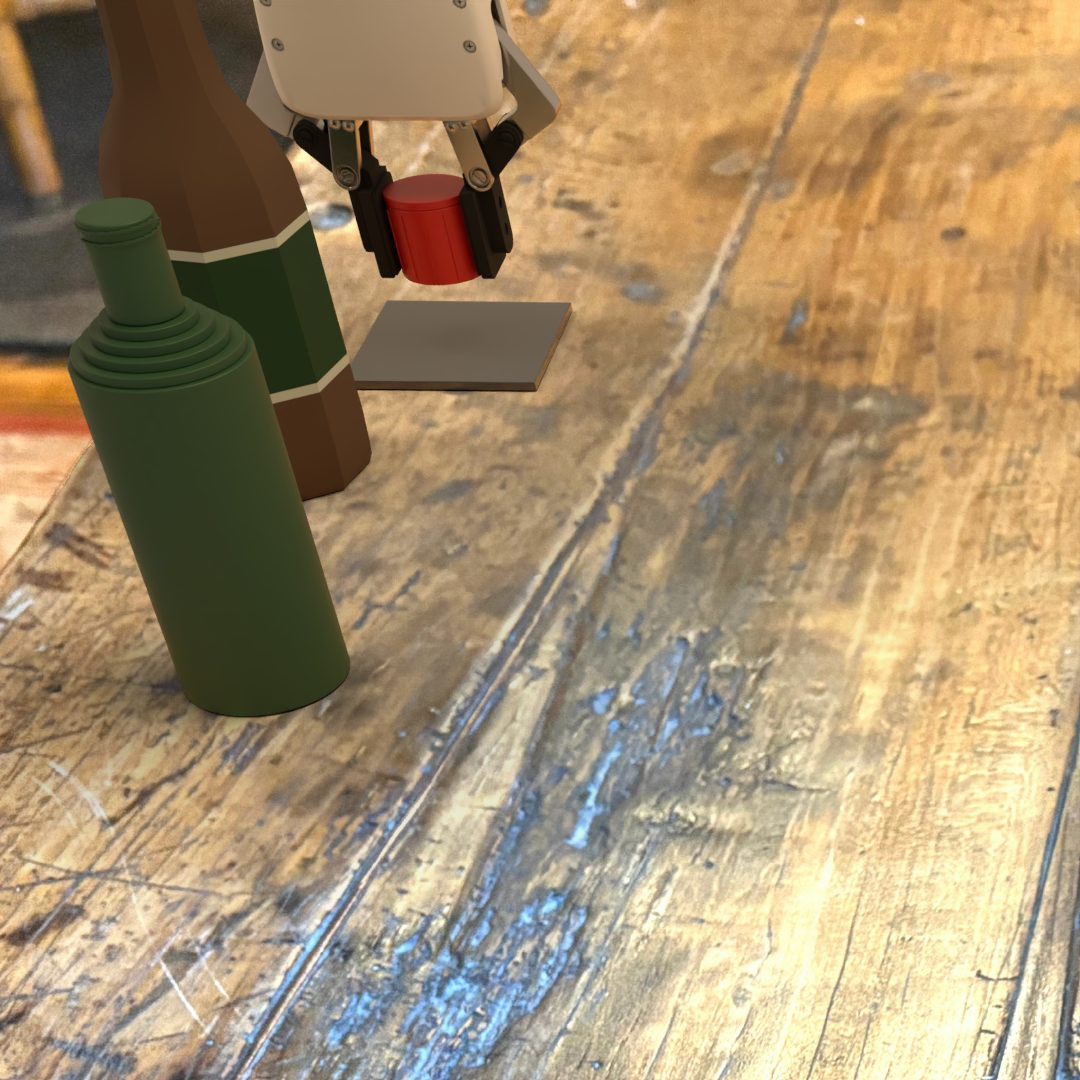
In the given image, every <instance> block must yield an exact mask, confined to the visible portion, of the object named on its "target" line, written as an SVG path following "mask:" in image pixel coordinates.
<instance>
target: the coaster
mask: <svg viewBox="0 0 1080 1080" xmlns="http://www.w3.org/2000/svg"><path fill="white" fill-rule="evenodd" d="M572 312H573V305H572V303H571V302H564V301H563V302H562V301H561V302H560V301H559V302H558V301H483V300H482V301H479V300H477V301H476V300H474V301H471V300H398V299H397V300H394V299H393V300H392V299H391V300H389V299H387V300H386V301H385V302H384V304H383V306H382V308H381V309H380V311H379V312H378V314H377V316H376V318H375V320H374V322H373V324H372V325H371V327H370V328H369V330H368V332H367V334H366V335H365V337H364V339H363V340H362V343H361V344H360V345H359V348H358V349H357V351H356V353H355V355H354V357H353V358H352V360H351V361H350V365H351V369H352V373H353V376H354V380H355V384H356V387H357V390H428V391H429V390H431V391H432V390H436V391H442V390H445V391H456V390H457V391H458V390H459V391H527V392H528V391H531V392H533V391H534V392H535V391H538V388H539V385H540V383H541V381H542V379H543V376H544V375H545V372H546V370H547V367H548V365H549V363H550V361H551V358H552V356H553V354H554V352H555V350H556V347H557V345H558V343H559V341H560V339H561V336H562V334H563V332H564V330H565V327H566V325H567V324H568V321H569V318H570V317H571V314H572Z"/></svg>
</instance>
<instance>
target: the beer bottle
mask: <svg viewBox="0 0 1080 1080" xmlns="http://www.w3.org/2000/svg"><path fill="white" fill-rule="evenodd" d="M94 2H95V6H96V11H97V14H98V19H99V22H100V25H101V30H102V33H103V37H104V41H105V45H106V49H107V55H108V61H109V69H110V77H111V83H112V91H113V93H112V96H111V99H110V102H109V105H108V109H107V111H106V115H105V118H104V120H103V124H102V127H101V130H100V132H99V150H98V179H99V185H100V187H101V191H102V195H103V200H104V199H110V198H136V199H141V200H145V201H147V202H149V203H150V204H151V205H152V206H153V207H154V209H155V213H157V215H158V217H159V218H160V219H161V222H162V223H161V231H162V234H163V238H164V241H165V244H166V247H167V250H168V253H169V256H170V260H171V263H172V266H173V269H174V272H175V275H176V278H177V281H178V285H179V288H180V291H181V294H182V296H185V297H188V298H190V299H191V300H193V301H195V302H198V303H200V304H202V305H204V306H206V307H207V308H210V309H213V310H215V311H217V312H219V313H220V314H222V315H225V316H228V317H230V318H232V319H233V320H235V321H236V322H238V323H239V324H240V326H241V327H242V328H243V329H244V330H245V331H246V332H247V333H248V334H249V335H250V336H251V337H252V339H253V341H254V344H255V347H256V351H257V354H258V357H259V361H260V364H261V367H262V371H263V374H264V377H265V380H266V384H267V387H268V390H269V394H270V397H271V400H272V404H273V407H274V410H275V413H276V417H277V420H278V423H279V427H280V430H281V433H282V437H283V440H284V443H285V446H286V450H287V453H288V456H289V460H290V463H291V466H292V470H293V473H294V476H295V479H296V483H297V486H298V489H299V493H300V496H301V499H302V501H305V500H309V499H313V498H316V497H321V496H324V495H327V494H332V493H335V492H339V491H343V490H345V489H346V487H348V485H349V484H350V483H352V481H353V480H354V479H355V478H356V477H357V476H358V474H360V473H361V472H362V470H364V468H365V467H366V466H367V465H368V464H369V463H370V462H371V459H372V458H371V457H372V454H373V450H372V447H371V446H372V445H371V442H370V436H369V431H368V427H367V422H366V417H365V413H364V410H363V406H362V402H361V398H360V394H359V392H358V391H359V390H358V389H357V387H356V384H355V380H354V376H353V373H352V369H351V365H350V364H351V361H350V359H349V355H348V351H347V348H346V344H345V340H344V336H343V334H342V329H341V326H340V322H339V318H338V315H337V311H336V308H335V303H334V300H333V297H332V294H331V289H330V286H329V282H328V278H327V275H326V272H325V268H324V264H323V261H322V257H321V252H320V250H319V246H318V242H317V238H316V234H315V231H314V227H313V223H312V220H311V216H310V213H309V209H308V207H307V204H306V201H305V199H304V196H303V192H302V189H301V187H300V184H299V181H298V178H297V176H296V174H295V170H294V168H293V165H292V162H291V161H290V159H289V158H288V157H287V155H286V153H285V152H284V150H283V148H282V147H281V146H280V144H279V143H278V140H277V139H276V137H275V136H274V135H273V133H272V132H271V130H270V128H269V127H267V126H266V125H265V124H264V123H263V122H262V120H261V119H260V118H259V117H258V116H257V115H256V114H255V113H254V112H253V111H252V110H251V109H250V108H249V107H248V106H247V105H246V102H244V101H243V100H242V99H241V98H240V97H239V95H238V94H237V93H235V92H234V90H232V88H231V87H229V85H228V83H227V81H226V79H225V76H224V75H223V72H222V70H221V68H220V66H219V64H218V61H217V59H216V57H215V55H214V52H213V51H212V49H211V46H210V44H209V41H208V39H207V36H206V33H205V30H204V27H203V24H202V21H201V19H200V16H199V13H198V9H197V6H196V4H195V2H194V0H94Z"/></svg>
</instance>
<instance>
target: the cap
mask: <svg viewBox="0 0 1080 1080" xmlns="http://www.w3.org/2000/svg"><path fill="white" fill-rule="evenodd" d="M463 186H464V180H463V177H461V176H458V175H453V174H446V173H425V174H424V173H423V174H417V175H410V176H407V177H403V178H399V179H397V180H393V182H392V183H390V184H389V185H387V187H386V188H385V189H384V191H383V197H384V201H385V205H386V209H387V214H388V218H389V222H390V226H391V230H392V233H393V237H394V241H395V245H396V249H397V253H398V257H399V260H400V264H401V268H402V269H401V271H402V274H403V276H404V278H405V279H406V280H408V281H410V282H412V283H414V284H419V285H423V286H439V287H440V286H449V285H457V284H462V283H465V282H469V281H473V280H476V279H477V278H479V277H480V276H478V274H477V271H476V267H475V263H474V259H473V254H472V250H471V246H470V242H469V238H468V234H467V230H466V226H465V222H464V217H463V213H462V209H461V205H460V201H459V193H460V191H461V189H462V187H463Z"/></svg>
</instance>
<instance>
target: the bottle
mask: <svg viewBox="0 0 1080 1080" xmlns="http://www.w3.org/2000/svg"><path fill="white" fill-rule="evenodd" d="M161 223H162V222H161V219H160V218H159V217H158V215H157V213H155V209H154V207H153V206H152V205H151V204H150V203H149V202H147V201H145V200H141V199H136V198H110V199H104V198H103V199H100V200H96V201H93V202H90V203H88V204H86V205H84V206H82V207H80V208H78V210H77V211H76V212H75V215H74V225H73V226H74V228H75V230H76V231H77V232H79V234H80V237H81V238H80V239H79V240H80V242H81V243H82V245H83V246H84V250H85V252H86V255H87V258H88V262H89V263H90V267H91V270H92V273H93V276H94V278H95V281H96V284H97V288H98V290H99V294H100V296H101V299H102V301H103V305H104V307H103V308H102V309H101V310H100V311H99V313H98V315H97V316H96V317H95V318H93V319H92V321H91V322H90V323H89V325H88V326H87V327H85V329H84V330H83V331H82V333H81V334H80V335H79V337H77V338H76V340H75V341H74V342H73V343H72V345H70V346H71V347H70V350H69V357H68V358H67V363H66V364H67V365H66V367H67V372H68V375H69V377H70V380H71V383H72V386H73V388H74V391H75V394H76V396H77V400H78V403H79V405H80V408H81V410H82V414H83V416H84V419H85V423H86V425H87V427H88V430H89V434H90V436H91V438H92V441H93V444H94V447H95V450H96V452H97V455H98V458H99V462H100V465H101V466H102V469H103V471H104V475H105V478H106V481H107V483H108V485H109V489H110V491H111V494H112V497H113V500H114V502H115V506H116V509H117V512H118V513H119V518H120V519H121V522H122V525H123V527H124V530H125V533H126V536H127V539H128V541H129V544H130V547H131V550H132V553H133V556H134V559H135V561H136V564H137V566H138V569H139V572H140V575H141V578H142V580H143V584H144V587H145V589H146V591H147V592H146V593H147V595H148V597H149V599H150V603H151V605H152V608H153V611H154V613H155V617H156V619H157V623H158V626H159V628H160V631H161V633H162V636H163V640H164V643H165V644H166V647H167V650H168V653H169V656H170V659H171V661H172V664H173V667H174V670H175V672H176V675H177V678H178V680H179V684H180V686H181V689H182V692H183V694H184V696H185V697H186V698H187V700H189V701H190V702H191V703H192V704H193V705H195V706H197V707H199V708H201V709H203V710H205V711H207V712H211V713H215V714H217V715H218V714H219V715H223V714H224V715H223V716H231V715H233V716H232V717H261V716H267V715H268V716H269V715H275V714H280V713H284V712H289V711H293V710H296V709H300V708H302V707H305V706H309V705H310V704H313V703H314V702H317V701H319V700H321V699H323V698H325V697H326V696H328V695H329V694H330V693H332V692H333V691H335V690H337V688H338V687H339V686H340V685H341V684H342V683H343V682H344V681H345V679H346V678H347V676H348V674H349V671H350V668H351V658H350V654H349V651H348V648H347V645H346V641H345V637H344V635H343V632H342V629H341V625H340V622H339V619H338V615H337V611H336V609H335V605H334V601H333V599H332V595H331V592H330V589H329V585H328V582H327V578H326V575H325V572H324V568H323V566H322V565H323V564H322V562H321V558H320V555H319V552H318V549H317V546H316V543H315V539H314V537H313V532H312V529H311V526H310V523H309V520H308V516H307V513H306V509H305V506H304V503H303V500H302V499H301V496H300V493H299V489H298V486H297V483H296V479H295V476H294V473H293V470H292V466H291V463H290V460H289V456H288V453H287V450H286V446H285V443H284V440H283V437H282V433H281V430H280V427H279V423H278V420H277V417H276V413H275V410H274V407H273V404H272V400H271V397H270V394H269V390H268V387H267V384H266V380H265V377H264V374H263V371H262V367H261V364H260V361H259V357H258V354H257V351H256V347H255V344H254V341H253V339H252V337H251V336H250V335H249V334H248V333H247V332H246V331H245V330H244V329H243V328H242V327H241V326H240V324H239V323H238V322H236V321H235V320H233V319H232V318H230V317H228V316H225V315H222V314H220V313H219V312H217V311H215V310H213V309H210V308H207V307H206V306H204V305H202V304H200V303H198V302H195V301H193V300H191V299H190V298H188V297H185V296H182V294H181V291H180V288H179V285H178V281H177V278H176V275H175V272H174V269H173V266H172V263H171V260H170V256H169V253H168V250H167V247H166V244H165V241H164V238H163V234H162V231H161ZM237 715H238V716H237Z"/></svg>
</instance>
